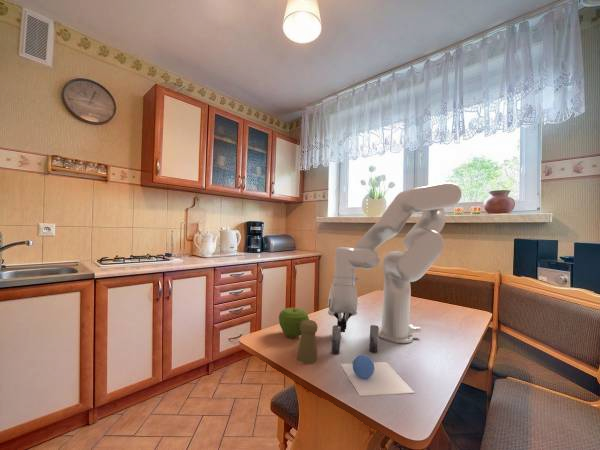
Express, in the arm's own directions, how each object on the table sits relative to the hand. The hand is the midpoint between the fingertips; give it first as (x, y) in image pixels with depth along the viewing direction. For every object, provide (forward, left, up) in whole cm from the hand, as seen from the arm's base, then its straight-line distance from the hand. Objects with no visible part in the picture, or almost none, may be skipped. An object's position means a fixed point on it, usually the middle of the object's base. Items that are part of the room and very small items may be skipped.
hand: (341, 330), depth 95 cm
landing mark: (0, +27, -2) cm, 27 cm away
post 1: (+6, +13, -2) cm, 15 cm away
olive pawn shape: (+16, +16, -2) cm, 23 cm away
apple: (+18, 0, -2) cm, 18 cm away
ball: (+3, +27, +1) cm, 27 cm away
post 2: (-6, +13, -2) cm, 15 cm away
